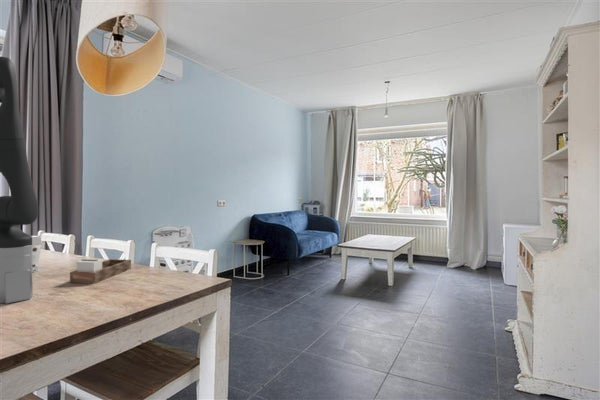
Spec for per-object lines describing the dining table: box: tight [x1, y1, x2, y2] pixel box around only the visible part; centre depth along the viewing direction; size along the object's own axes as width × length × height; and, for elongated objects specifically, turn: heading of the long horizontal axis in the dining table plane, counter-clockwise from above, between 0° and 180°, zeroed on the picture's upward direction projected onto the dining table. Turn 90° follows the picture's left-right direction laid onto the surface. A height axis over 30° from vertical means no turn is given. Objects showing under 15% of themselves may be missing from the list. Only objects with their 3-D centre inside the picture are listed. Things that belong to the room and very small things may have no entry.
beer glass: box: [30, 235, 42, 273], centre depth 143 cm, size 7×7×15 cm
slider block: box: [76, 258, 103, 272], centre depth 131 cm, size 5×7×6 cm
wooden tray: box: [69, 258, 132, 284], centre depth 139 cm, size 24×10×4 cm, turn 177°
